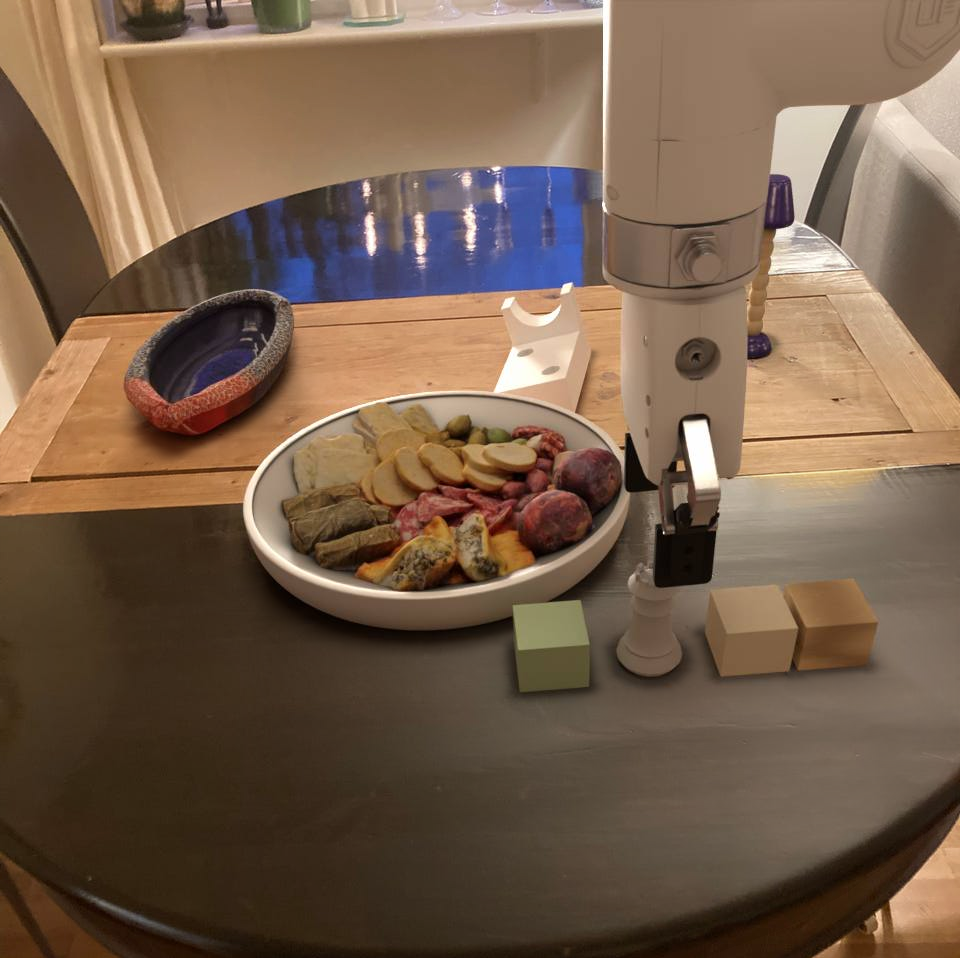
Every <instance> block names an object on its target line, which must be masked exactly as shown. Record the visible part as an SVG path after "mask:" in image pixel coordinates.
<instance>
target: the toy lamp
mask: <svg viewBox="0 0 960 958" xmlns="http://www.w3.org/2000/svg"><path fill="white" fill-rule="evenodd" d="M793 193H794V192H793V185H792V180H791V178H790V176H788V175H785V174H779V173H770V179H769V188H768V196H767V204H766V213H765V222H764V231H763V240H762V248H761V257H760V268H759V273H758V275H757V276H756V278H755V279H754V280H753V281H752V282H750V283H749V284H750V287H751V288H750V289H749V293H748V302H749V304H748V305H747V331H748V342H747V359H759V358H764V357H766V356H768V355H770V354H771V353H772V350H773V349H772V348H773V346H772V341H771V339H770V337H769V336H768V335H767V334H766V333H764V332H762V331H763V328H764V321H763V318H764V316H765V313H766V306H765V303H766V301H767V299H768V289H767V287H768V286H769V282H770V273H769V272H770V270H771V268H772V267H771V266H772V258H771V257H772V254H773V252H774V249H775V244H774V239H775V237H776V235H777V230H781V229H786V228H789V227H791V226H792V225H793V224H794V223H795V206H794V205H795V204H794V195H793Z"/></svg>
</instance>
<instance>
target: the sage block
mask: <svg viewBox="0 0 960 958" xmlns="http://www.w3.org/2000/svg"><path fill="white" fill-rule="evenodd" d="M512 622H513V623H512V624H513V640H514V641H513V642H514V643H513V645H514V654H515V663H516V664H515V665H516V671H517V681H518V688H519V693H527V692H540V691H541V692H542V691H553V690H566V689H579V688H589V687H590V664H591V661H590V659H591V658H590V657H591V643H590V639H589V634H588V628H587V623H586V619H585V615H584V609H583V604H582V600H581V599H576V600H575V599H573V600H563V601H562V600H561V601H548V602H546V603H535V604H522V605H513V616H512Z"/></svg>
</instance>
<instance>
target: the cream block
mask: <svg viewBox="0 0 960 958" xmlns="http://www.w3.org/2000/svg"><path fill="white" fill-rule="evenodd" d="M706 611H707V612H706V619H705V628H704V634H705V637H706V640H707V642H708V645H709V649H710V650H711V651H710V652H711V654H712V657H713V660H714V662H715V665H716V668H717V670H718V673H719V676H720V677H731V676H745V675H757V674H758V675H759V674H771V673H782V672H790V670H791V666H792V661H793V659H792V656H793V651H794V646H795V642H796V637H797V632H798V627H797V624H796V622H795V620H794V618H793V616H792V614H791V612H790V610H789V607H788V605H787V603H786V601H785V599H784V594H783V593H782V590H781V588H780V586H779V585H778V584H769V585H768V584H767V585H757V586H756V585H755V586H742V587H731V588H729V587H728V588H717V589H716V588H715V589H710V590H709V595H708V603H707V610H706Z"/></svg>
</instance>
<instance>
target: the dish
mask: <svg viewBox="0 0 960 958" xmlns="http://www.w3.org/2000/svg"><path fill="white" fill-rule="evenodd" d="M294 331H295V316H294V311H293V307H292V304H291V302H290V301H289V300H288V299H287V298H285V297H283V296H282V295H280V294H278V293H276V292H275V291H270V290H266V289H255V288H253V289H241V290H235V291H232V292H231V291H230V292H226V293H222V294H220V295H217V296H213V297H211V298H209V299H207V300H204V301H201V302H199V303H197V304H195V305H193V306H191V307H190V308H187V309H186V310H184V311H182V312H180V313H178V314H177V315H176V316H174V317H172V318H171V319H170V320H168V321H167V322H165V323H164V324H163V325H162V326H161V327H158V329H157V330H156V331H154V332H153V333H152V334H151V335H150V336H149V337H148V338H147V339H146V340H145V341H144V343H143V344H142V345H141V346H140V348H139V349H138V350H137V352H136V353H135V354H134V356H133V357H132V359H131V361H130V362H129V365H128V367H127V368H126V369H127V370H126V372H125V375H124V379H123V390H124V393H125V396H126V397H125V398H126V400H128V402H129V403H130V404H131V405H132V406H133V407H135V408H136V409H137V411H138V412H139V413H140V414H141V415H143V416H144V417H145V418H146V420H148V422H149V423H151V425H153V426H154V427H156V428H158V429H159V430H161V431H166V432H171V433H177V434H181V435H192V436H194V435H203V434H204V433H206V432H209V431H211V430H213V429H214V428H216V427H218V426H220V425H221V424H223V423H225V422H227V421H228V420H230V419H232V418H234V417H236V416H238V415H240V414H241V413H243V412H245V411H246V410H248V409H250V408H251V407H252V406H253V405H255V404H257V402H258V401H260V400H261V399H262V398H263V397H264V395H265V394H266V393H267V392H268V391H269V390H270V389H271V388H272V386H273V385H274V383H275V382H276V381H277V379H278V378H279V376H280V375H281V373H282V370H283V369H284V367H285V364H286V361H287V358H288V355H289V353H290V349H291V344H292V341H293V340H292V339H293V335H294Z"/></svg>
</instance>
